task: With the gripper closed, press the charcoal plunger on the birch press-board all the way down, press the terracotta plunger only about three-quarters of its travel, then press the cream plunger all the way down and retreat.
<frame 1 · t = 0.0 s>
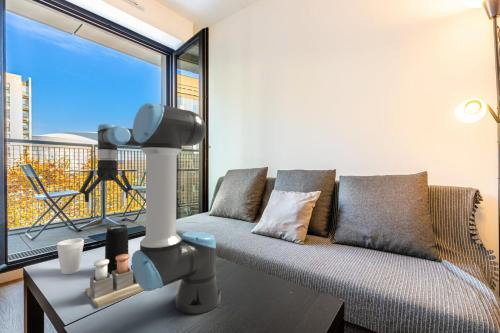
hand: (107, 207, 104), 28 cm above the table, fingers open, 13 cm apart
plunger terracotta: (122, 265, 89), point 9 cm above the table, slide at 0.0 cm
foam cup: (70, 271, 104), on the table
plunger charcoal: (141, 259, 94), point 9 cm above the table, slide at 0.0 cm
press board: (122, 288, 89), on the table
plunger cream: (101, 271, 84), point 9 cm above the table, slide at 0.0 cm
portable speaker: (116, 270, 105), on the table
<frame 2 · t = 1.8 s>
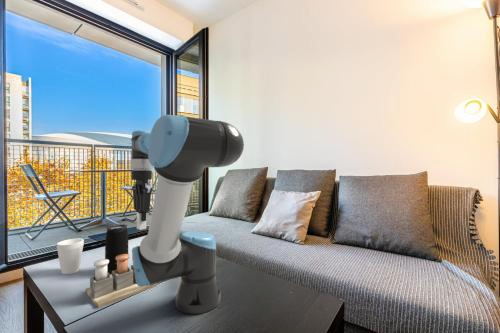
hand: (141, 228, 94), 21 cm above the table, fingers closed
nothing on the table moved.
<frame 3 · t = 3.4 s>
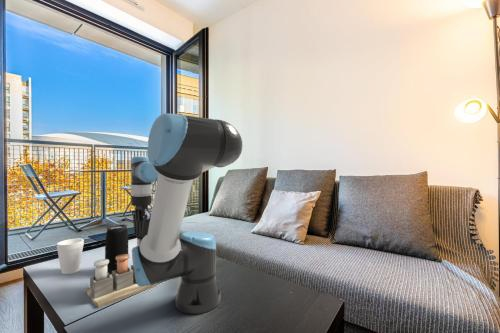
hand: (141, 253, 95), 11 cm above the table, fingers closed
plunger charcoal: (141, 263, 94), point 8 cm above the table, slide at 1.3 cm, touching gripper
everything else where it was.
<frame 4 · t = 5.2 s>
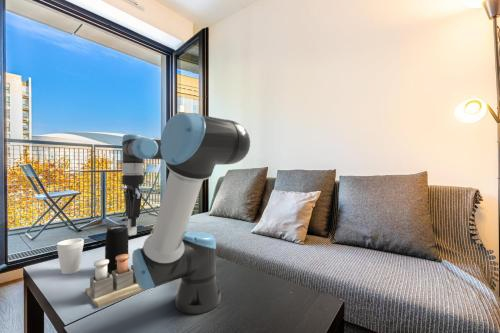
hand: (132, 234, 92), 20 cm above the table, fingers closed
plunger charcoal: (141, 268, 94), point 5 cm above the table, slide at 3.5 cm
everything else where it was.
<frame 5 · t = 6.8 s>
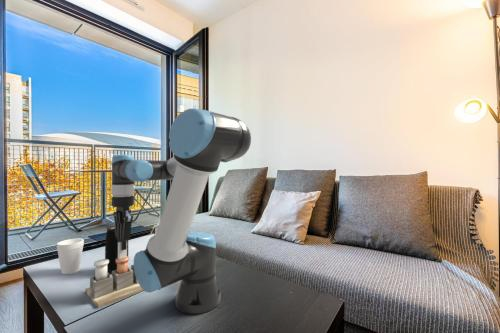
hand: (122, 257, 89), 12 cm above the table, fingers closed
plunger terracotta: (122, 267, 89), point 8 cm above the table, slide at 0.9 cm, touching gripper
everything else where it was.
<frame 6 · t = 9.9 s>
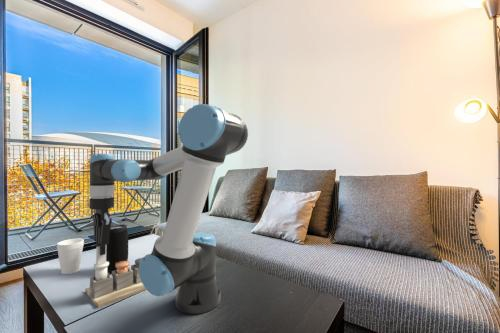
hand: (101, 263, 84), 12 cm above the table, fingers closed
plunger terracotta: (122, 272, 89), point 6 cm above the table, slide at 2.7 cm
plunger cream: (101, 273, 84), point 8 cm above the table, slide at 0.8 cm, touching gripper
everything else where it was.
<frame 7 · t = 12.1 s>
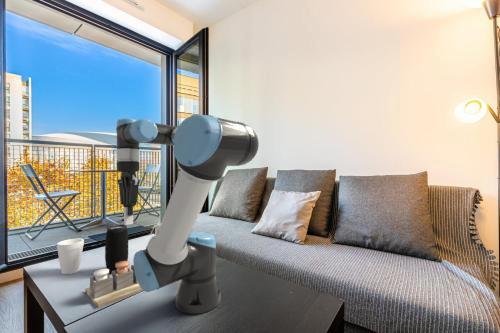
hand: (128, 224, 88), 25 cm above the table, fingers closed
plunger cream: (101, 280, 84), point 5 cm above the table, slide at 3.5 cm
everything else where it was.
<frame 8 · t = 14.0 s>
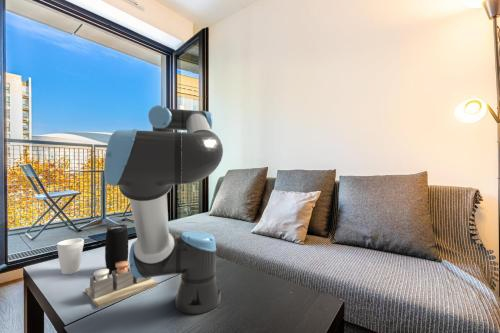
hand: (161, 206, 95), 30 cm above the table, fingers closed
nothing on the table moved.
at the end: plunger charcoal slide at 3.5 cm; plunger terracotta slide at 2.7 cm; plunger cream slide at 3.5 cm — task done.
